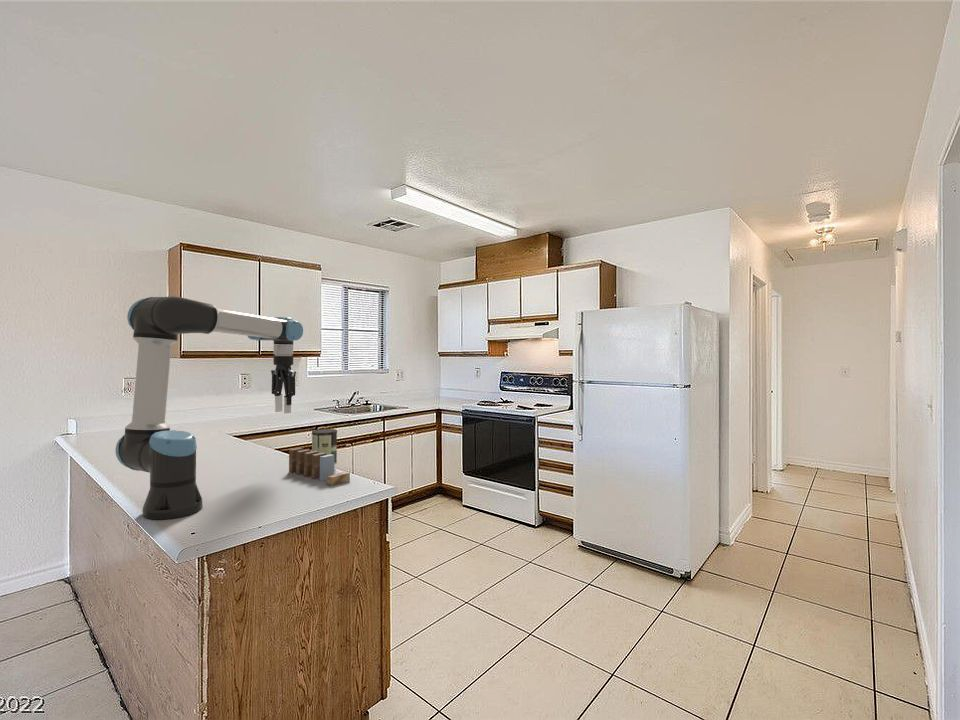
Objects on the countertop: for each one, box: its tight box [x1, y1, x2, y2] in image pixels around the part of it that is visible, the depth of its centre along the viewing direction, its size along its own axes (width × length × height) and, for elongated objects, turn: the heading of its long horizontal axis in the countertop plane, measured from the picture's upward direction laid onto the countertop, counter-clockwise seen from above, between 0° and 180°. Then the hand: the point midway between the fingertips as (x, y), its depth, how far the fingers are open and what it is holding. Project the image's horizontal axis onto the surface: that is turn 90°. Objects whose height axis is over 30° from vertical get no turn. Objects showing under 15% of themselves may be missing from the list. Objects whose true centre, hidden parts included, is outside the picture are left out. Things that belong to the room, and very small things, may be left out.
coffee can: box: [311, 428, 338, 466], centre depth 207 cm, size 10×10×14 cm
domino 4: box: [311, 453, 326, 480], centre depth 185 cm, size 2×5×9 cm, turn 145°
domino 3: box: [303, 450, 318, 478], centre depth 188 cm, size 2×5×9 cm, turn 145°
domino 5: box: [319, 454, 335, 482], centre depth 182 cm, size 2×5×9 cm, turn 145°
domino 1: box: [288, 447, 304, 474], centre depth 193 cm, size 2×5×9 cm, turn 145°
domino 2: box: [295, 449, 312, 476], centre depth 190 cm, size 2×5×9 cm, turn 145°
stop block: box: [326, 471, 351, 486], centre depth 179 cm, size 8×3×3 cm, turn 145°
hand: (283, 412), depth 198 cm, fingers open, 5 cm apart
